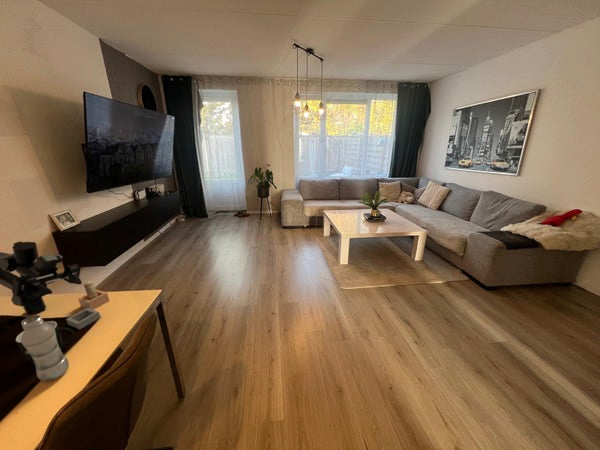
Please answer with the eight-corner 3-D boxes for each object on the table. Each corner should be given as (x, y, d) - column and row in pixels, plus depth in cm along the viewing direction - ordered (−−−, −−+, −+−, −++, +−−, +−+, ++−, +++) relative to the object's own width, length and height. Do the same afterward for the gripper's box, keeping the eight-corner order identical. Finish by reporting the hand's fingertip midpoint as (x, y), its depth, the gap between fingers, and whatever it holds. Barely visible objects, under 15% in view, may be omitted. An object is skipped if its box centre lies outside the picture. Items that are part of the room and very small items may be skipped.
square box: (81, 308, 100) (77, 298, 98) (100, 299, 106) (97, 289, 105) (91, 312, 98) (88, 302, 96) (110, 302, 104) (107, 292, 102)
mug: (24, 373, 72) (10, 347, 68) (32, 353, 79) (20, 329, 75) (77, 354, 78) (66, 329, 75) (80, 337, 85) (71, 313, 82)
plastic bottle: (53, 366, 74) (29, 312, 68) (77, 364, 74) (54, 310, 68) (33, 386, 68) (4, 329, 61) (59, 383, 68) (32, 327, 62)
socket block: (69, 326, 90) (66, 319, 89) (90, 315, 96) (87, 307, 95) (80, 331, 88) (77, 323, 86) (101, 319, 94) (98, 311, 93)
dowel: (89, 305, 101) (82, 284, 98) (97, 300, 103) (90, 280, 100) (93, 306, 100) (86, 285, 96) (101, 302, 102) (94, 282, 99)
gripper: (1, 258, 79) (36, 275, 76) (67, 246, 97) (97, 260, 94) (-2, 287, 81) (32, 306, 78) (63, 271, 99) (93, 285, 96)
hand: (67, 287), depth 87 cm, fingers open, 9 cm apart
